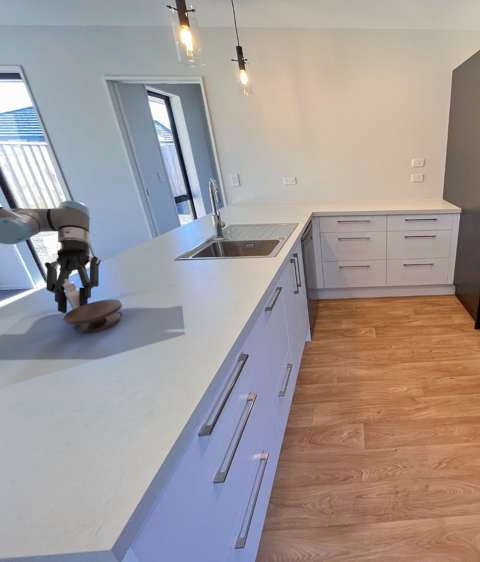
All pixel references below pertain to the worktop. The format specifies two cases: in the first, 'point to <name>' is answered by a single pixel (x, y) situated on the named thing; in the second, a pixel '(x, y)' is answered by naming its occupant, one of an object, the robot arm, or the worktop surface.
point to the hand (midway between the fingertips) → (73, 309)
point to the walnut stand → (95, 315)
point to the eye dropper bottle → (71, 293)
